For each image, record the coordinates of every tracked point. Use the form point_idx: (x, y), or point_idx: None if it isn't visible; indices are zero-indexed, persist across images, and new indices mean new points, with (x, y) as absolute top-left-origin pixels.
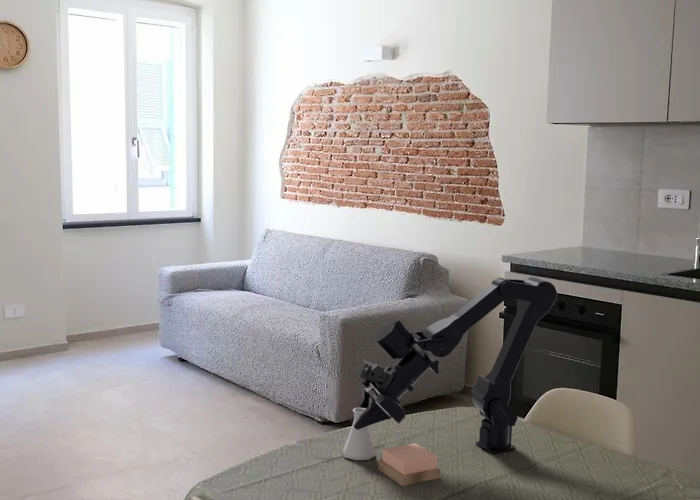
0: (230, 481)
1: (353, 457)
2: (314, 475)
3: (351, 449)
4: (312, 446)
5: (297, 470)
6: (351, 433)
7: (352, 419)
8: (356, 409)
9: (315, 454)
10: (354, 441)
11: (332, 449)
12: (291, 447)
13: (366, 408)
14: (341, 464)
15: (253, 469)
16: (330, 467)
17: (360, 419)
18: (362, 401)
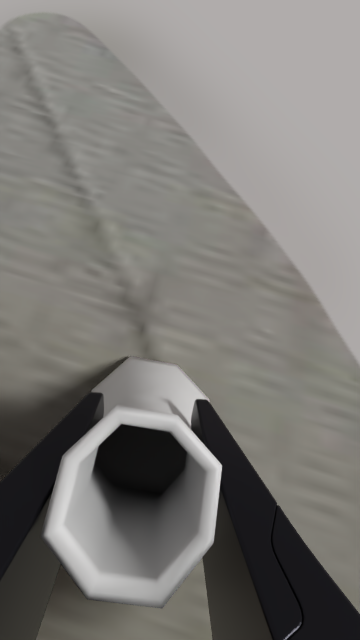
0: (65, 58)
1: (100, 384)
2: (24, 230)
3: (112, 379)
4: (252, 289)
5: (78, 200)
6: (130, 385)
7: (198, 413)
8: (198, 463)
9: (186, 279)
10: (108, 394)
11: (217, 342)
12: (252, 232)
13: (231, 606)
14: (81, 333)
15: (120, 113)
16: (68, 292)
17: (37, 446)
18: (298, 622)
